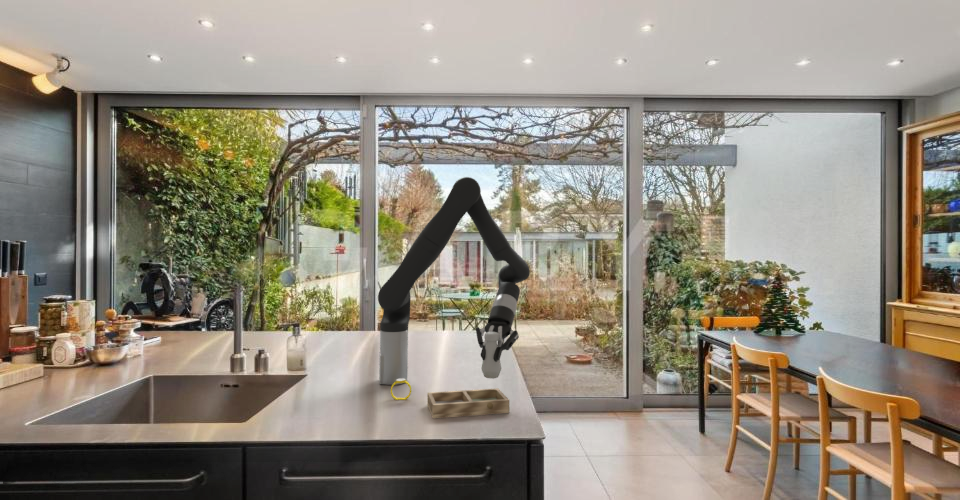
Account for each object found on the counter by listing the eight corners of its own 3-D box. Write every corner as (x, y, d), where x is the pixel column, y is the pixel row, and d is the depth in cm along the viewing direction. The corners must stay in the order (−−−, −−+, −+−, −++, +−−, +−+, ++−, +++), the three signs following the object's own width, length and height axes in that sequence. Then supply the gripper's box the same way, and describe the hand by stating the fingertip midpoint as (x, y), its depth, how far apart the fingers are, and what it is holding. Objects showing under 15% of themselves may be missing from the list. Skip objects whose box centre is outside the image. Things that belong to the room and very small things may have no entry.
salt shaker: (499, 380, 134) (499, 334, 134) (479, 378, 135) (480, 333, 135) (502, 374, 140) (503, 331, 139) (483, 373, 141) (484, 330, 141)
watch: (390, 402, 137) (389, 381, 137) (391, 399, 140) (390, 379, 139) (411, 400, 138) (410, 379, 137) (411, 397, 140) (410, 377, 140)
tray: (433, 418, 123) (433, 405, 123) (427, 404, 134) (427, 392, 134) (509, 413, 128) (509, 400, 128) (498, 400, 139) (498, 388, 139)
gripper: (479, 303, 147) (463, 350, 135) (522, 305, 142) (510, 354, 130) (484, 317, 152) (470, 364, 140) (526, 320, 147) (515, 369, 135)
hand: (489, 359), depth 135 cm, fingers closed on salt shaker, 3 cm apart
